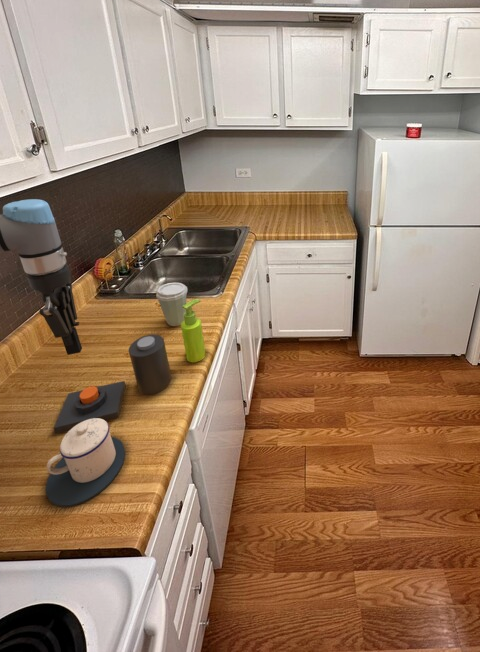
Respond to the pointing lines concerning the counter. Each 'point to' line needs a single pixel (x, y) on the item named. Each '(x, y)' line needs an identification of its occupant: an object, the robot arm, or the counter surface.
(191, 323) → the soap dispenser
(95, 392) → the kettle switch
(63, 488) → the mat
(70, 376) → the counter surface
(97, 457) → the teacup with lid
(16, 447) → the counter surface
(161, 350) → the dark grey cylinder
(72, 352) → the robot arm
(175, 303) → the disposable coffee cup
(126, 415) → the counter surface
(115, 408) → the kettle base
